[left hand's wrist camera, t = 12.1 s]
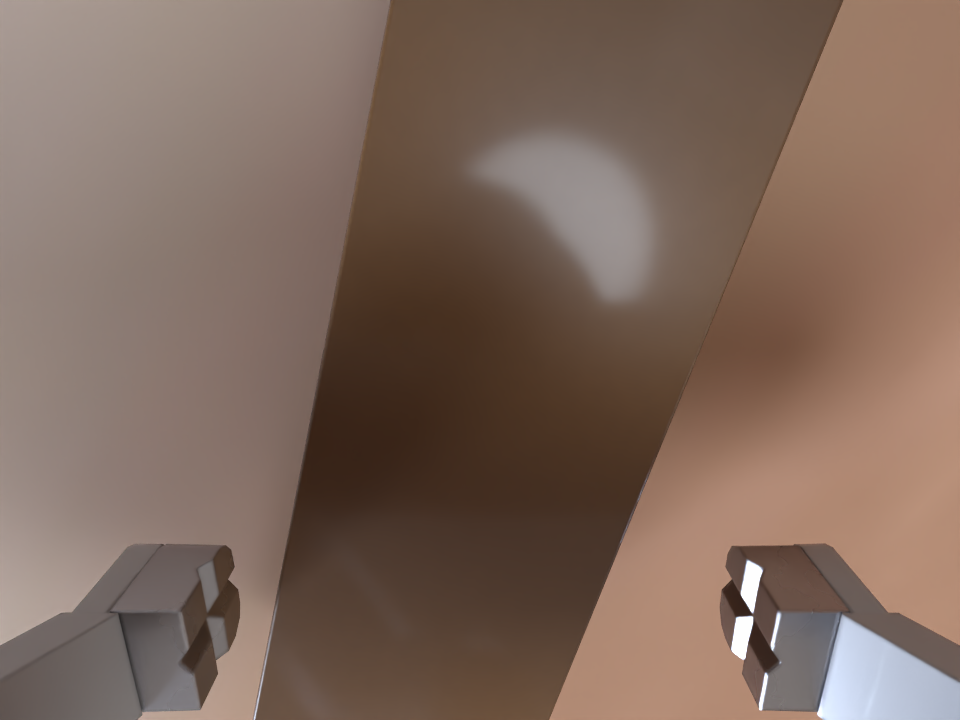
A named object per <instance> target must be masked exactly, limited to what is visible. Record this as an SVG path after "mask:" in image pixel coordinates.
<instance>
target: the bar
mask: <svg viewBox="0 0 960 720" xmlns="http://www.w3.org/2000/svg"><path fill="white" fill-rule="evenodd" d="M842 2H843V0H391V1H390V6H389V12H388V17H387V22H386V27H385V32H384V38H383V43H382V48H381V53H380V59H379V64H378V69H377V74H376V79H375V85H374V90H373V95H372V100H371V105H370V111H369V116H368V121H367V126H366V132H365V137H364V142H363V147H362V152H361V158H360V163H359V168H358V173H357V178H356V184H355V189H354V194H353V199H352V205H351V210H350V215H349V220H348V225H347V231H346V236H345V241H344V246H343V251H342V257H341V262H340V267H339V272H338V278H337V283H336V288H335V293H334V298H333V304H332V309H331V314H330V319H329V325H328V330H327V335H326V340H325V345H324V351H323V356H322V361H321V366H320V371H319V377H318V382H317V387H316V392H315V398H314V403H313V408H312V413H311V418H310V424H309V429H308V434H307V439H306V444H305V450H304V455H303V460H302V465H301V471H300V476H299V481H298V486H297V491H296V497H295V502H294V507H293V512H292V517H291V523H290V528H289V533H288V538H287V544H286V549H285V554H284V559H283V564H282V570H281V575H280V580H279V585H278V590H277V596H276V601H275V606H274V611H273V617H272V622H271V627H270V632H269V637H268V643H267V648H266V653H265V658H264V663H263V669H262V674H261V679H260V684H259V690H258V695H257V700H256V705H255V710H254V716H253V720H549V718H550V716H551V714H552V711H553V709H554V706H555V704H556V701H557V699H558V696H559V694H560V692H561V689H562V687H563V684H564V682H565V679H566V677H567V674H568V672H569V670H570V667H571V665H572V662H573V660H574V657H575V655H576V652H577V650H578V648H579V645H580V643H581V640H582V638H583V635H584V633H585V630H586V628H587V626H588V623H589V621H590V618H591V616H592V613H593V611H594V608H595V606H596V604H597V601H598V599H599V596H600V594H601V591H602V589H603V586H604V584H605V582H606V579H607V577H608V574H609V572H610V569H611V567H612V564H613V562H614V560H615V557H616V555H617V552H618V550H619V547H620V545H621V542H622V540H623V538H624V535H625V533H626V530H627V528H628V525H629V523H630V520H631V518H632V516H633V513H634V511H635V508H636V506H637V503H638V501H639V498H640V496H641V494H642V491H643V489H644V486H645V484H646V481H647V479H648V476H649V474H650V472H651V469H652V467H653V464H654V462H655V459H656V457H657V454H658V452H659V450H660V447H661V445H662V442H663V440H664V437H665V435H666V432H667V430H668V428H669V425H670V423H671V420H672V418H673V415H674V413H675V410H676V408H677V406H678V403H679V401H680V398H681V396H682V393H683V391H684V388H685V386H686V383H687V381H688V379H689V376H690V374H691V371H692V369H693V366H694V364H695V361H696V359H697V357H698V354H699V352H700V349H701V347H702V344H703V342H704V339H705V337H706V335H707V332H708V330H709V327H710V325H711V322H712V320H713V317H714V315H715V313H716V310H717V308H718V305H719V303H720V300H721V298H722V295H723V293H724V291H725V288H726V286H727V283H728V281H729V278H730V276H731V273H732V271H733V269H734V266H735V264H736V261H737V259H738V256H739V254H740V251H741V249H742V247H743V244H744V242H745V239H746V237H747V234H748V232H749V229H750V227H751V225H752V222H753V220H754V217H755V215H756V212H757V210H758V207H759V205H760V203H761V200H762V198H763V195H764V193H765V190H766V188H767V185H768V183H769V181H770V178H771V176H772V173H773V171H774V168H775V166H776V163H777V161H778V159H779V156H780V154H781V151H782V149H783V146H784V144H785V141H786V139H787V137H788V134H789V132H790V129H791V127H792V124H793V122H794V119H795V117H796V115H797V112H798V110H799V107H800V105H801V102H802V100H803V97H804V95H805V93H806V90H807V88H808V85H809V83H810V80H811V78H812V75H813V73H814V71H815V68H816V66H817V63H818V61H819V58H820V56H821V53H822V51H823V49H824V46H825V44H826V41H827V39H828V36H829V34H830V31H831V29H832V27H833V24H834V22H835V19H836V17H837V14H838V12H839V9H840V7H841V5H842Z"/></svg>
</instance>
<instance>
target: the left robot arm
mask: <svg viewBox="0 0 960 720" xmlns="http://www.w3.org/2000/svg"><path fill="white" fill-rule="evenodd" d="M233 569H234V562H233V557H232V552H231V549H229V548H228V547H227V546H226V545H190V544H165V545H164V544H134V545H132V546H129V547H127V548H126V549H125V551H124V552H123V553H122V554H121V555H120V556H119V558H118V559H117V560H116V561H115V562H114V564H113V565H112V566H111V567H110V568H109V569H108V571H107V572H106V573H105V574H104V575H103V577H102V578H101V579H100V580H99V581H98V582H97V584H96V585H95V586H94V587H93V588H92V589H91V591H90V592H89V593H88V594H87V595H86V597H85V598H84V599H83V600H82V601H81V602H80V604H79V605H78V606H77V607H76V608H75V610H74V611H73V612H72V613H60V614H59V615H57V616H55V617H53V618H51V619H49V620H47V621H45V622H44V623H42V624H40V625H38V626H36V627H34V628H32V629H30V630H29V631H27V632H25V633H23V634H21V635H19V636H17V637H15V638H13V639H12V640H10V641H8V642H6V643H4V644H2V645H0V720H137V719H138V718H140V717H141V716H142V712H152V711H186V710H201V707H202V705H203V703H204V701H205V699H206V697H207V695H208V693H209V691H210V689H211V687H212V685H213V683H214V681H215V679H216V677H217V675H218V671H217V665H216V660H217V659H218V658H220V657H221V656H222V655H224V654H225V653H226V652H228V651H229V649H230V647H231V645H232V643H233V641H234V638H235V636H236V632H237V627H238V623H239V618H240V599H239V592H238V589H237V588H236V587H235V586H234V585H233V584H232V583H231V582H230V581H229V580H228V578H229V576H230V574H231V573H232V571H233ZM726 569H727V571H728V573H729V574H730V576H731V578H732V580H731V581H730V582H729V583H728V584H727V585H726V586H725V587H724V588H723V589H722V592H721V601H720V615H721V625H722V629H723V632H724V636H725V639H726V641H727V643H728V645H729V647H730V649H731V651H732V652H734V653H735V654H736V655H738V656H739V657H740V658H742V659H743V660H744V665H743V671H742V675H743V677H744V679H745V681H746V683H747V685H748V687H749V689H750V691H751V693H752V695H753V697H754V699H755V701H756V703H757V705H758V707H759V709H760V710H773V711H808V712H818V714H817V715H819V716H820V717H821V718H822V719H823V720H960V645H958V644H956V643H954V642H952V641H950V640H948V639H946V638H945V637H943V636H941V635H939V634H937V633H935V632H933V631H931V630H930V629H928V628H926V627H924V626H922V625H920V624H918V623H916V622H915V621H913V620H911V619H909V618H907V617H905V616H903V615H901V614H900V613H888V612H887V611H886V610H885V608H884V607H883V606H882V605H881V604H880V602H879V601H878V600H877V599H876V598H875V597H874V595H873V594H872V593H871V592H870V591H869V590H868V588H867V587H866V586H865V585H864V584H863V582H862V581H861V580H860V579H859V578H858V577H857V575H856V574H855V573H854V572H853V571H852V570H851V568H850V567H849V566H848V565H847V564H846V562H845V561H844V560H843V559H842V558H841V557H840V555H839V554H838V553H837V552H836V551H835V549H834V548H833V547H831V546H829V545H827V544H794V545H786V546H731V548H730V550H729V552H728V555H727V561H726Z"/></svg>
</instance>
